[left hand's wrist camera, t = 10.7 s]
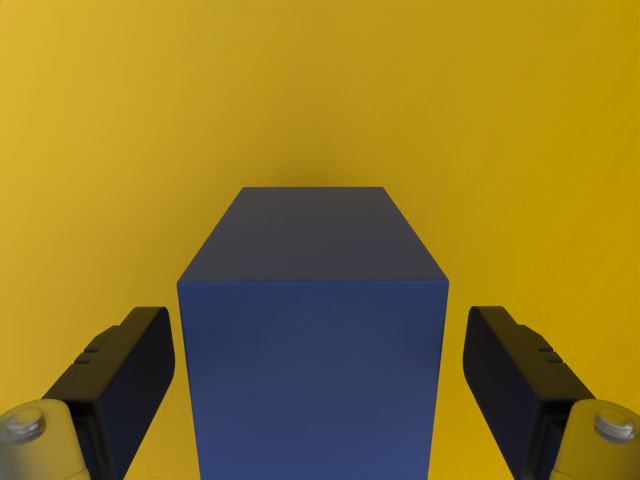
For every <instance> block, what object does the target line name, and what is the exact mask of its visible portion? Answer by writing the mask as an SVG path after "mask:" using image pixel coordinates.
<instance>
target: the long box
mask: <svg viewBox="0 0 640 480" xmlns="http://www.w3.org/2000/svg"><path fill="white" fill-rule="evenodd" d="M448 289H449V280H448V278H447V277H446V275H445V274H444V273H443V271H442V270H441V268H440V267H439V266H438V264H437V263H436V261H435V260H434V259H433V257H432V256H431V254H430V253H429V251H428V250H427V249H426V247H425V246H424V244H423V243H422V242H421V240H420V239H419V237H418V236H417V235H416V233H415V232H414V230H413V229H412V227H411V226H410V225H409V223H408V222H407V220H406V219H405V218H404V216H403V215H402V213H401V212H400V211H399V209H398V208H397V206H396V205H395V203H394V202H393V201H392V199H391V198H390V196H389V195H388V194H387V192H386V191H385V189H384V188H383V187H244V188H242V190H241V191H240V192H239V194H238V195H237V197H236V198H235V200H234V201H233V202H232V204H231V205H230V207H229V208H228V210H227V211H226V213H225V214H224V215H223V217H222V218H221V220H220V221H219V223H218V224H217V225H216V227H215V228H214V230H213V231H212V233H211V234H210V236H209V237H208V238H207V240H206V241H205V243H204V244H203V246H202V247H201V248H200V250H199V251H198V253H197V254H196V256H195V257H194V258H193V260H192V261H191V263H190V264H189V266H188V267H187V269H186V270H185V271H184V273H183V274H182V276H181V277H180V279H179V280H178V281H177V291H178V299H179V307H180V315H181V324H182V332H183V340H184V348H185V356H186V364H187V372H188V380H189V388H190V397H191V405H192V413H193V421H194V429H195V437H196V445H197V453H198V462H199V470H200V478H201V480H427V479H428V470H429V461H430V452H431V443H432V434H433V424H434V415H435V406H436V397H437V388H438V379H439V370H440V361H441V352H442V343H443V334H444V325H445V316H446V307H447V298H448Z"/></svg>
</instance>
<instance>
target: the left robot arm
mask: <svg viewBox="0 0 640 480" xmlns="http://www.w3.org/2000/svg"><path fill="white" fill-rule="evenodd" d="M174 370H175V353H174V346H173V339H172V332H171V325H170V318H169V313H168V310H167V308H166V307H135V308H134V309H133V310H132V311H131V312H130V313H129V315H128V316H127V317H126V318H125V319H124V321H123V322H122V323H121V324H120V326H112V327H110V328H109V329H107V330H106V331H104V332H102V333H101V334H99V335H98V336H96V337H95V338H94V339H93V340H92V341H91V343H90V344H89V345H88V346H87V347H86V348H85V349H84V353H81V354H80V355H79V356H78V357H77V358H76V360H75V361H74V364H71V365H70V366H69V368H68V369H67V370H66V371H65V372H64V373H63V374H62V376H61V377H60V378H59V379H58V380H57V381H56V382H55V384H54V385H53V386H52V387H51V388H50V389H49V390H48V392H47V393H46V394H45V395H44V396H43V397H42V398H41V400H35V401H31V402H28V403H24V404H22V405H19V406H17V407H15V408H13V409H11V410H9V411H7V412H5V413H4V414H2V415H1V416H0V480H123V479H124V477H125V475H126V473H127V471H128V469H129V467H130V465H131V463H132V461H133V459H134V456H135V454H136V452H137V450H138V448H139V446H140V444H141V442H142V440H143V438H144V436H145V434H146V432H147V430H148V428H149V426H150V424H151V422H152V420H153V418H154V416H155V414H156V412H157V410H158V408H159V406H160V404H161V402H162V400H163V398H164V396H165V394H166V392H167V390H168V388H169V386H170V384H171V381H172V379H173V375H174ZM463 370H464V375H465V379H466V381H467V383H468V385H469V387H470V389H471V391H472V393H473V395H474V398H475V400H476V402H477V404H478V406H479V408H480V410H481V412H482V414H483V416H484V418H485V420H486V422H487V424H488V426H489V428H490V430H491V432H492V434H493V436H494V439H495V441H496V443H497V445H498V447H499V449H500V451H501V453H502V455H503V457H504V459H505V461H506V463H507V465H508V467H509V469H510V471H511V473H512V475H513V478H514V480H640V416H639V415H638V414H636V413H635V412H633V411H631V410H629V409H627V408H625V407H623V406H621V405H618V404H616V403H612V402H609V401H605V400H599V399H596V398H595V397H594V396H593V394H592V393H591V392H590V391H589V390H588V389H587V387H586V386H585V385H584V384H583V383H582V382H581V381H580V379H579V378H578V377H577V376H576V375H575V374H574V373H573V371H572V370H571V369H570V368H569V367H568V366H567V364H566V363H563V360H562V359H561V358H560V356H559V355H558V354H557V353H556V352H553V348H552V347H551V346H550V345H549V344H548V343H547V341H546V340H545V339H544V338H543V337H542V336H541V335H539V334H538V333H536V332H535V331H533V330H531V329H530V328H528V327H527V326H525V325H518V324H517V323H516V322H515V321H514V319H513V318H512V317H511V316H510V315H509V313H508V312H507V311H506V310H505V308H504V307H502V306H472V307H471V309H470V311H469V315H468V322H467V329H466V337H465V344H464V351H463Z"/></svg>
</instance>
